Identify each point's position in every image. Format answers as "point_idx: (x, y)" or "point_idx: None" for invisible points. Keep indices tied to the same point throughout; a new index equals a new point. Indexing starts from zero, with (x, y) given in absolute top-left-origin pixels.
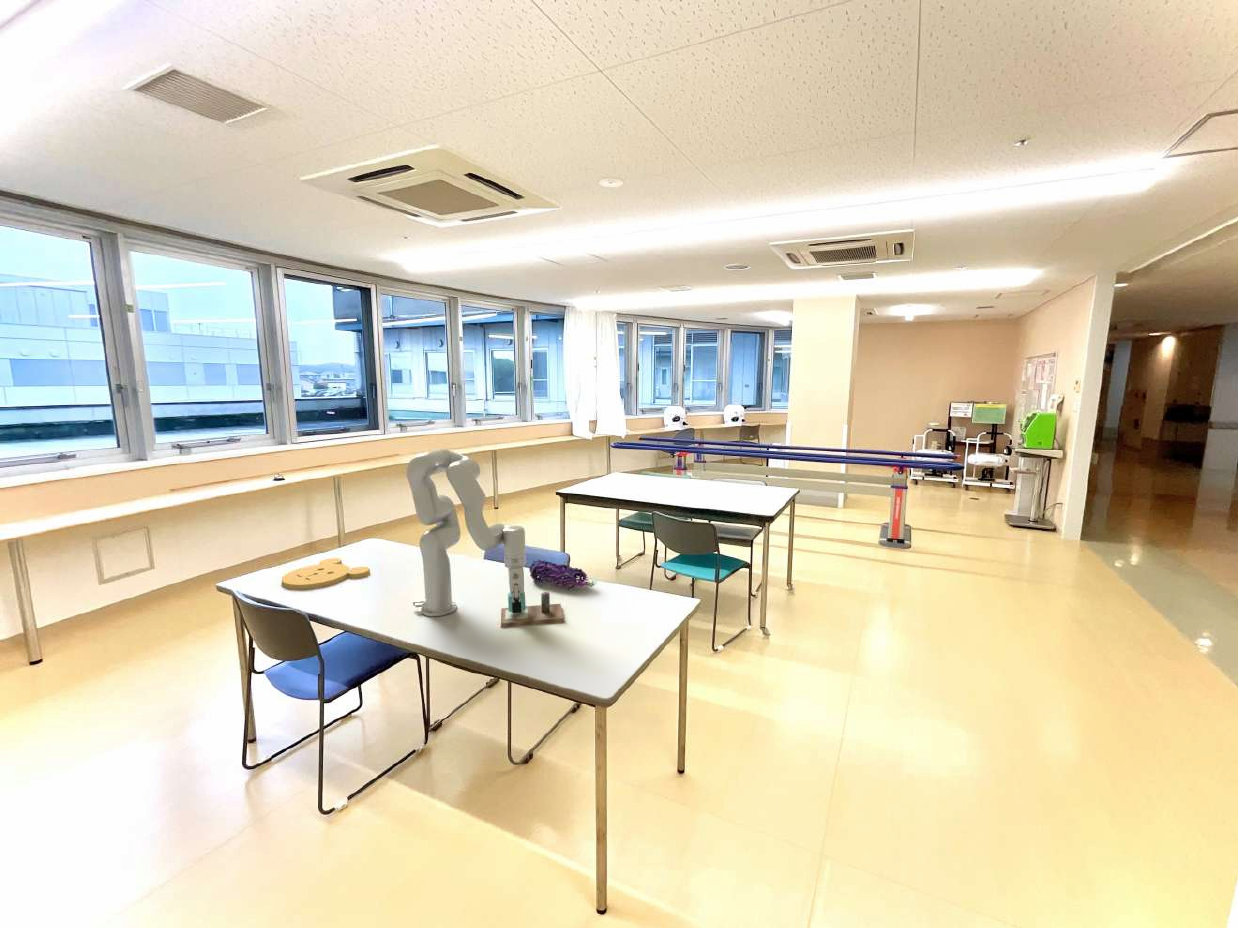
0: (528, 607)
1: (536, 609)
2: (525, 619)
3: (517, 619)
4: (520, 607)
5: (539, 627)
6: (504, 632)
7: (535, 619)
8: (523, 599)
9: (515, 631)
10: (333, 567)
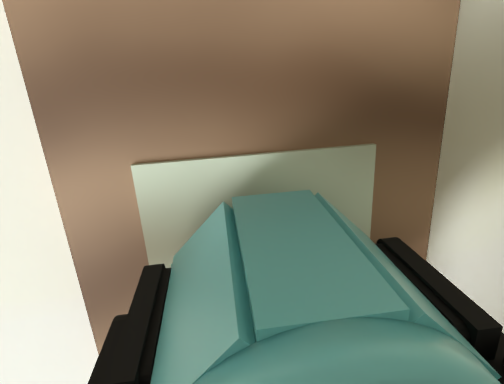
0: (88, 153)
1: (153, 49)
2: (398, 167)
3: (377, 239)
4: (432, 276)
5: (494, 22)
6: (477, 294)
7: (428, 61)
8: (425, 303)
9: (490, 225)
10: None
